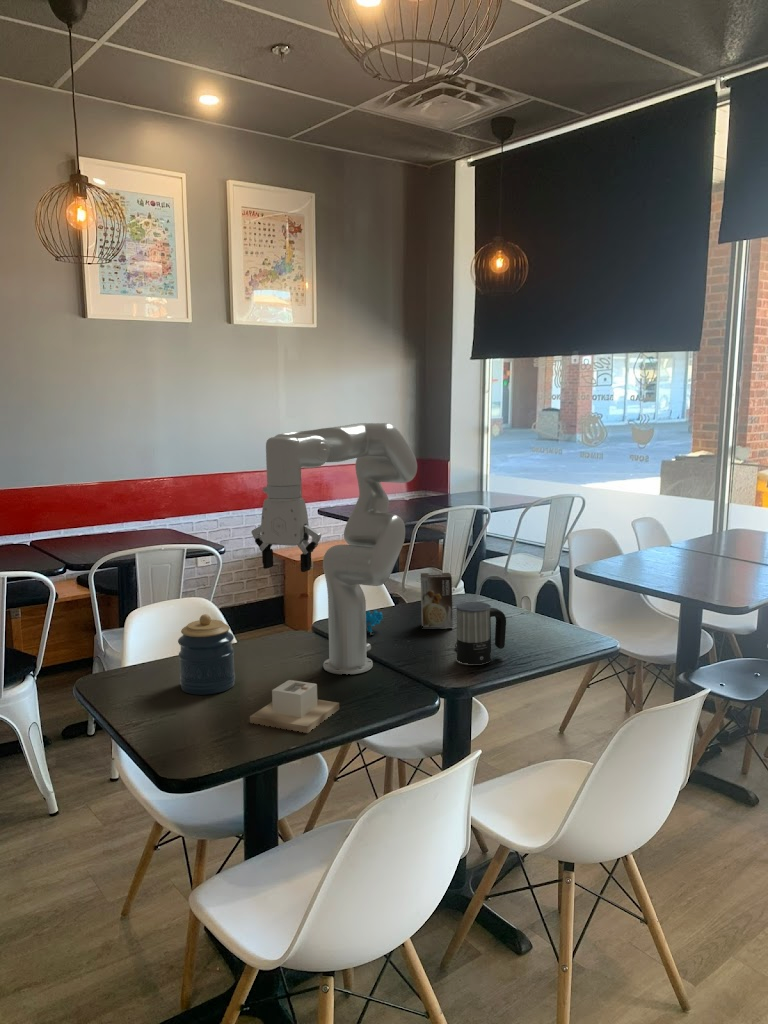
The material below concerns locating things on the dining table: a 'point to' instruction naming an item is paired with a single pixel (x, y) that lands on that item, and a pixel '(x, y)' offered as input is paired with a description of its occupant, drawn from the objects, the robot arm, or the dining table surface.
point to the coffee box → (436, 600)
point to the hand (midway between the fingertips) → (286, 569)
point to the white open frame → (294, 698)
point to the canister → (206, 657)
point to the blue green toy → (373, 619)
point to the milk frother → (478, 631)
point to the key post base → (295, 723)
